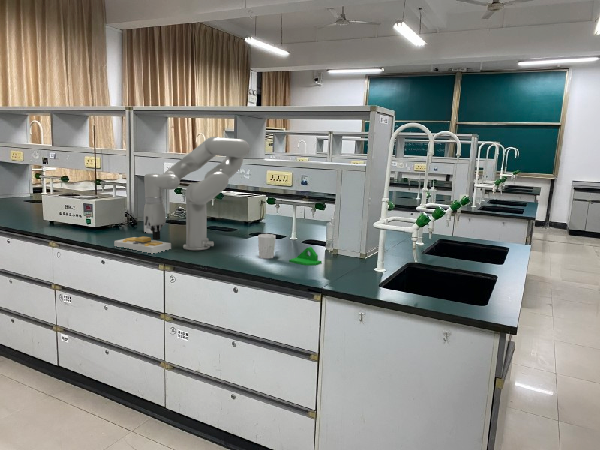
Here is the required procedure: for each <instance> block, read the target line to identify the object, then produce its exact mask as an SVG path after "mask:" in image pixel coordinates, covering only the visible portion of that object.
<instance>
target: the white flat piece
mask: <svg viewBox="0 0 600 450" xmlns="http://www.w3.org/2000/svg"><path fill="white" fill-rule="evenodd" d="M133 237H134V238H138V237H137V236H133ZM130 238H132V237H130ZM125 239H126V238H124V239H122V238H121V239H117V240H113V241H114V243H113V245H114V246H117V247H124V248H129V249H133V250H137V251H142V252H141V253H143V252H147V253H146V254H148V253H151V254H150V255H154V254H153V253H155V254H159V253H162V252H161V251H163V252H166V251H165V250H167V251H169V249H171V250H172V243H171V242H165V241H159V240H153V239H151V242H152V241H157V242H162V244H160V245H156V246H153V245H149V244H146V243H145V244H141V243H138V242H135V241H134V242H130V241H127V240H125ZM137 251H136V252H137ZM158 252H159V253H158Z"/></svg>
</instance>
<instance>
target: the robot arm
mask: <svg viewBox="0 0 600 450" xmlns="http://www.w3.org/2000/svg"><path fill="white" fill-rule="evenodd" d="M250 149H251V148H250V144H249V143H248V141H247V140H244V139H242V138H241V139H240V138H231V137H230V138H228V137H221V136H210V137H208V138H206V139H205V140H204V141H203V142H201V143H200V144H199V145H198V146H197V147H195V148H194V149H192V150H191V151H190V152H189V153H188V154H186V155H185V156H184V157H182V158H181V159H179V161H177V162H176V163H174V164H173V165H172V166H171V167H169V168H168V169H167V170H166V171H164V172H163V173H162V174H160V173H146V174H144V176H143V180H144V195H145V196H144V197H145V198H144V199H145V204H144V207H143V226H144V225H146V228H147V229H151V231H152V233H151V234H152V240H155V241H159V240H161V231H162V228H163V227H164V226H165V225H166V221H167V215H166V208H165V207H166V206H165V204H164V197H163V190H172V191H173V190H175V189H177V188H178V187H179V186H180V182H181V180H182V179H183V178H185V177H187V175H189V174H191V173H193V172H196V171H198V170H199V169H201V168H203V167H204V166H205V165H206V164H207V163H209V162H210V161H211V160H212V159H214V158H215V157H216V156H219V157H225V158H224V159H223V160H222V161H221V162H220V163H218V164H217V165H216V166H214V167H213V168H211V169H210V170H209V171H207V172H206V174H205V175H204V178H203V180H201V181H200V182H192V183H190V184H188V186H187V187H186V189H185V194H184V196H185V197H184V198H185V206H186V207H185V210H186V211H185V212H186V213H185V221H186V222H185V223H186V224H185V226H186V227H185V231H186V237H185V238H186V241H185V244H183V245H182V248H183V249H184V250H186V251H188V250H189V251H205V250H209V249H210V248H211V247H214V245H215V242H214V241H211V240H209V238H208V237H207V231H208V230H207V226H208V225H207V221H208V220H207V219H208V218H207V216H208V214H207V213H208V212H207V204H208V203H209V202H211V200H213V199H214V198H216V197H217V196H218V195H219V194H221V193H222V192H223V191H224V190H225V189H226V188H227V187H228V184H229V181H230V179H231V178H232V177H233V176H234V175H236V173H237V172H239V170H240V169H241V167H242V165H243V160H244V158H245V157H246V156H247V155H248V154H249V153H250Z"/></svg>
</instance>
